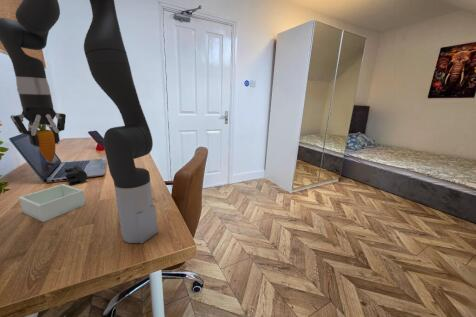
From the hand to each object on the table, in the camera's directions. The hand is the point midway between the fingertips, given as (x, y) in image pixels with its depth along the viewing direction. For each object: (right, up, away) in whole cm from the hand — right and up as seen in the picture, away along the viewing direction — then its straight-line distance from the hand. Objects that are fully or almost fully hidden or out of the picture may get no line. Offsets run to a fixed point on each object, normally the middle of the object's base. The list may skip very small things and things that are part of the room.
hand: (46, 144), depth 72 cm
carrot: (0, -6, +2) cm, 7 cm away
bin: (-2, -23, +6) cm, 24 cm away
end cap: (-13, -16, +31) cm, 38 cm away
